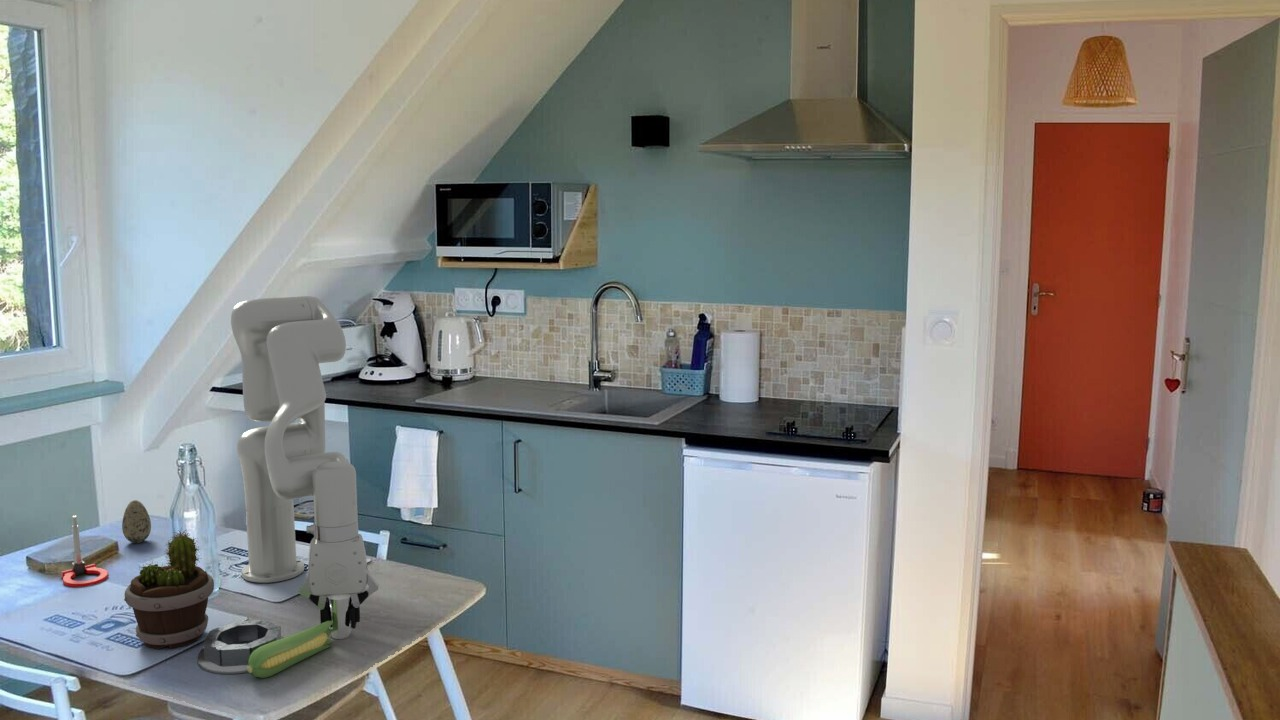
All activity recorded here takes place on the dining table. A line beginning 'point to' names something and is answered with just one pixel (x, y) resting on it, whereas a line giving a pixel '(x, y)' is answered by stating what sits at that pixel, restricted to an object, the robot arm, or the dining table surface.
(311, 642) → the edible corn
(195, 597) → the flowerpot
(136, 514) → the decorative egg
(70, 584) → the tow hook
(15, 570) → the dining table surface
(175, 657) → the dining table surface
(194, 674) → the dining table surface
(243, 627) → the collar
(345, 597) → the milkshake
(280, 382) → the robot arm
